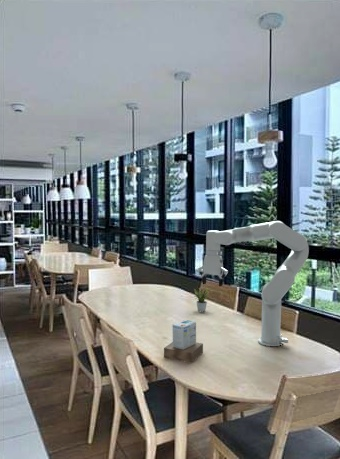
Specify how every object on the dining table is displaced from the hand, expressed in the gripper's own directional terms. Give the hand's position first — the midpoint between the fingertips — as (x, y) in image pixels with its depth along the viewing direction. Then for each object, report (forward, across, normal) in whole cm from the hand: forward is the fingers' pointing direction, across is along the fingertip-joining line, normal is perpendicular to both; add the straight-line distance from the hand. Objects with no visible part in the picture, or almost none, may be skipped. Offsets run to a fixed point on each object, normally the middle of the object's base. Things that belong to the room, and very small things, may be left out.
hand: (212, 284), depth 208 cm
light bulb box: (+24, -1, +31) cm, 39 cm away
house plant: (+28, +28, -46) cm, 61 cm away
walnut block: (+29, 0, +32) cm, 43 cm away
